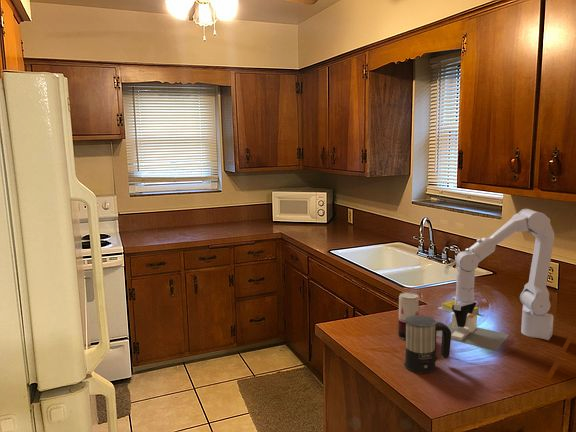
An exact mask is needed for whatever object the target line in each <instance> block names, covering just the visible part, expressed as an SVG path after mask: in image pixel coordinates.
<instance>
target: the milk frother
mask: <svg viewBox="0 0 576 432" xmlns="http://www.w3.org/2000/svg"><path fill="white" fill-rule="evenodd" d="M405 323H406V339H405V361H404V364H403V365H404V367H405V368H406V369H407V370H409V371H410V372H413V373H417V374H428V373H433V372H434V371H435V370H437V369H436V368H437V365H436V362H437V336H436V334H437V332H438V331H439V332H440V331H442V337H441V347H440V355H441V356H442V358H444V359H448V358H450V351H451V343H452V342H451V341H452V340H451V331H450V329H449V328H448V327H447V325H446V324H445V323H443V322H440V321H438V320H436V318H434V317H431V316H429V315H424V314H418V315H412V316H408V317H407V318H406V319H405Z"/></svg>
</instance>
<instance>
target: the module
mask: <svg viewBox="0 0 576 432" xmlns="http://www.w3.org/2000/svg"><path fill="white" fill-rule="evenodd" d="M451 322H452V328H456V327H457V326H458V325H457V321H456V316H455V314H454V312H452V314H451ZM477 323H478V315H476V314H471V313H468V315H467V318H466V323H465V326H464V327H468V332H471V333H472V332H473V331H474V330H475V329H476V327H477Z"/></svg>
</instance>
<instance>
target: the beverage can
mask: <svg viewBox="0 0 576 432" xmlns="http://www.w3.org/2000/svg"><path fill="white" fill-rule="evenodd" d="M419 299H420V298H419V295H418V294H417V293H415V292H407V291H405V292H401V293H399V296H398V330H397V331H398V332H397V333H398V337H399V338H401V339H402V340H406V323H405V319H406V318H407V317H408V316H412V315H419V306H420V305H419Z"/></svg>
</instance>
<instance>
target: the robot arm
mask: <svg viewBox="0 0 576 432" xmlns="http://www.w3.org/2000/svg"><path fill="white" fill-rule="evenodd" d="M517 232H519V233H520V232H530V233H531V234H532V236H533V237H534V238H535V239H534V240H535V241H534V247H533V253H532V260H531V264H530V270H529V278H528V282H526V283H525V284H524V286H523V287H524V288H523V289H522V292H521V293H520V295H519V300H520V302H521V304H522V313H521V329H520V333H521V334H523V335H524V336H526V337H530V338H537V339H542V340H546V341H550V339H551V338H552V336H553V334H554V333H553V329H554V315H553V314H552V313H548V312H549V311H550V309H551V302H550V291H549V290H548V288H547V283H548V277H549V273H550V272H549V271H550V264H551V258H552V255H553V254H552V253H553V248H554V242H555V241H554V240H555V232H554V229H553V227H552V224H551V219H550V217H548V216H547V215H546V214H545V213H544V212H541V211H540V212H539V211H536V210H533V209H531V208H523V209H520V210H519V212H518V213H515V214H513V215H512V216H511V218H510V219H509V220H507V222H505V223H504V224H502V226H501V227H500V228H498V229H497V230H496V231H495V232H493V233H492V234H491V235H490V236H488V237H481V238H477V239H476V242H474V244H472V245H471V246H470V247H469V248H468V247H467V248H465V250H464V251H460V252H458V253H457V255H456V257H455V258H454V263H455V264H456V265H457V266H456V269H457V270H456V287H455V288H456V290H455V296H452V301H454V300H455V304H454V305H453V306H452V310H453V312H452V313H454V314H455V316H456V321H457V325H458V326H459V327H463V328H464V326H465V323H466V318H467V315H468V313H471V314H472V312H473V310H474V308H475V306H476V307H477V302H475V273H476V272H475V270H476V269H477V268H478V266H479V263H481V261H483V260H484V259H485V258H487V257H488V256H490V255H491V254H492V253H494V252H495V251H496V246H497V245H499V244H500V243H501V242H503V241H504V240H506V239H507V238H509V237H511V236H512V235H513V234H515V233H517Z"/></svg>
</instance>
